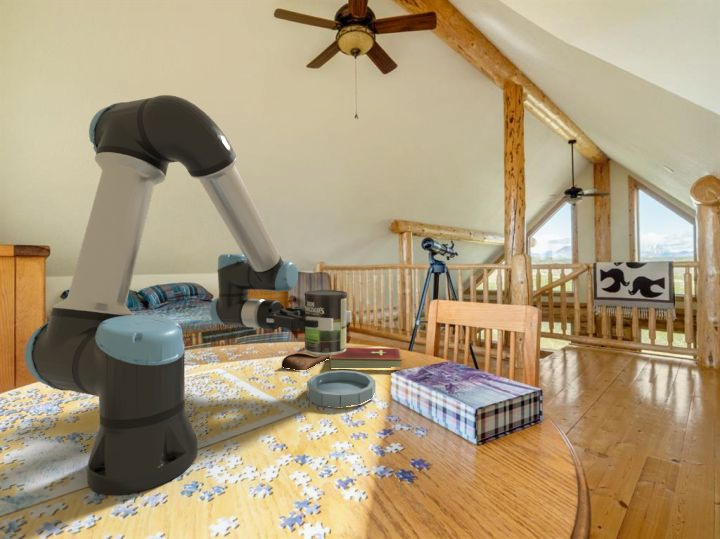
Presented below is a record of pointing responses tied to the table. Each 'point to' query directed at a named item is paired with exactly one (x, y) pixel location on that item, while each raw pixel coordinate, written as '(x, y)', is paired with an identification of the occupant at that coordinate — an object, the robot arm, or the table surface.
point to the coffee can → (326, 307)
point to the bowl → (340, 388)
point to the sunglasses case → (302, 360)
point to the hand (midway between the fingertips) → (342, 320)
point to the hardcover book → (366, 358)
